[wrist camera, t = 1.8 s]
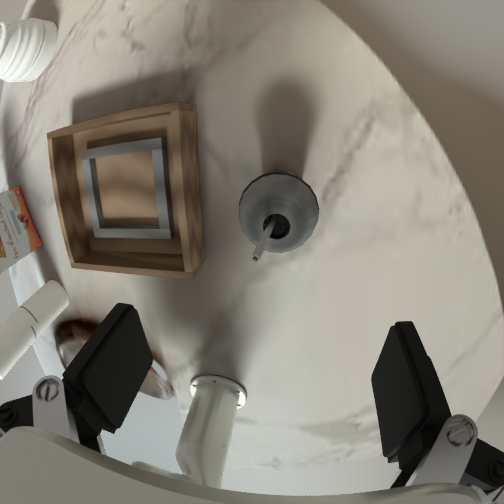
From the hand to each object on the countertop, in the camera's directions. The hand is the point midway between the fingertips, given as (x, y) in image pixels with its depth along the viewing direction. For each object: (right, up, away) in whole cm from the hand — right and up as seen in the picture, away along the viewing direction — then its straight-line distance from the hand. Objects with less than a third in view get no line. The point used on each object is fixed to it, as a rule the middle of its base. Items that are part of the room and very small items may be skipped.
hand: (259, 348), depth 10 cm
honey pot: (-40, +41, +18) cm, 60 cm away
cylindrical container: (-44, -6, +41) cm, 60 cm away
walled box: (-18, +13, +28) cm, 36 cm away
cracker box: (-48, +11, +34) cm, 60 cm away
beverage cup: (+4, +12, +26) cm, 29 cm away
